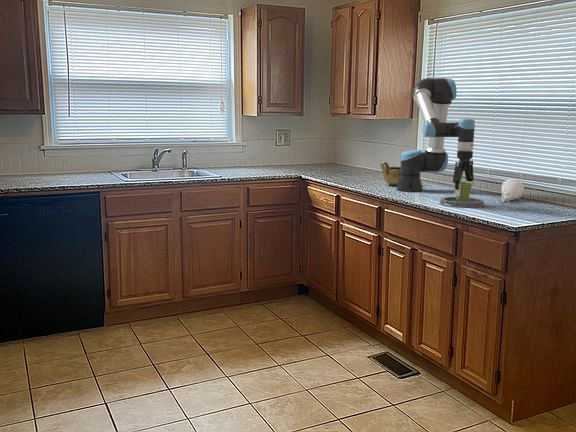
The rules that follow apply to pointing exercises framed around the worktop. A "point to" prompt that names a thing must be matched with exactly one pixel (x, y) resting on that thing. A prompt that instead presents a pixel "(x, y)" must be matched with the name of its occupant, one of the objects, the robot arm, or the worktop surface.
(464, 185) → the plant pot
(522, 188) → the white teardrop lump
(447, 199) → the saucer
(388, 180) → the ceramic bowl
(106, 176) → the worktop surface
